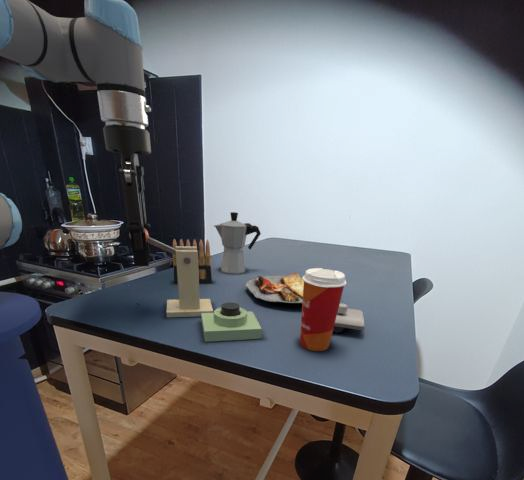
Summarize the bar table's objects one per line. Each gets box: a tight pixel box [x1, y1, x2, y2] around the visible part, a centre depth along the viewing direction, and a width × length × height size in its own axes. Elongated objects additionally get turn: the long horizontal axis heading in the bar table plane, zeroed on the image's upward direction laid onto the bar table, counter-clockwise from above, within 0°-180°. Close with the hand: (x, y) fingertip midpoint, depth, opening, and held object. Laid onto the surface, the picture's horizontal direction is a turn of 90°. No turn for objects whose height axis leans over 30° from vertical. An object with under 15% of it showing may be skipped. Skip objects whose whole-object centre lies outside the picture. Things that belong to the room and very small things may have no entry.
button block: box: [200, 307, 263, 343], centre depth 64 cm, size 11×9×4 cm
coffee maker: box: [213, 211, 262, 275], centre depth 102 cm, size 15×9×18 cm, turn 95°
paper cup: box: [299, 267, 347, 352], centre depth 58 cm, size 8×8×14 cm
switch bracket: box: [166, 245, 214, 318], centre depth 70 cm, size 10×8×14 cm
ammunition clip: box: [172, 238, 213, 285], centre depth 89 cm, size 11×2×12 cm, turn 104°
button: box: [220, 302, 241, 317], centre depth 63 cm, size 4×4×2 cm
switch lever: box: [129, 228, 185, 255], centre depth 65 cm, size 13×4×4 cm, turn 104°
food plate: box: [244, 272, 304, 305], centre depth 86 cm, size 25×23×4 cm
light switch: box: [333, 302, 366, 333], centre depth 69 cm, size 10×10×5 cm
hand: (142, 262), depth 66 cm, fingers closed on switch lever, 3 cm apart
